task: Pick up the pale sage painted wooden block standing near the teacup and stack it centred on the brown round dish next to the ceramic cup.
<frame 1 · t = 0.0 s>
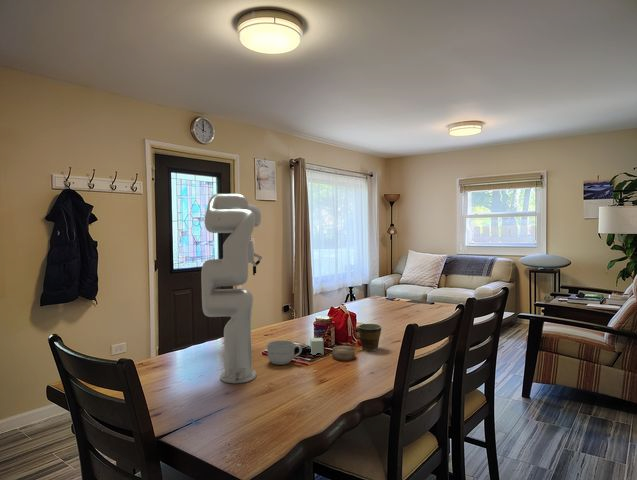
hand: (243, 275, 194), 31 cm above the table, fingers open, 9 cm apart
teacup: (284, 363, 165), on the table
sage block: (317, 353, 177), on the table
ceramic cup: (366, 349, 182), on the table
brown round dish: (343, 357, 171), on the table
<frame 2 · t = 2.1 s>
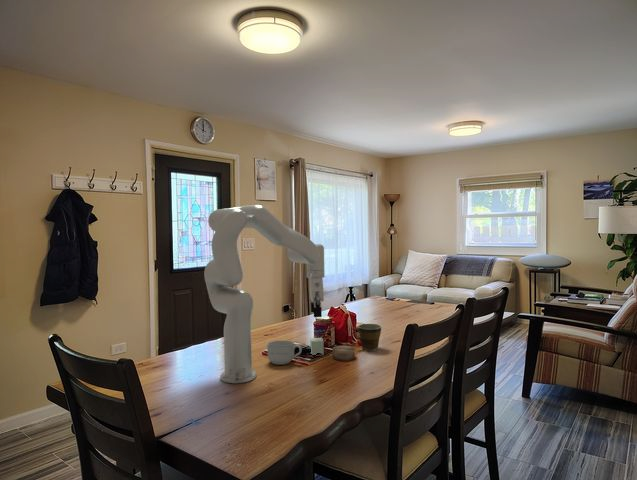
hand: (316, 314, 176), 16 cm above the table, fingers open, 9 cm apart
nothing on the table moved.
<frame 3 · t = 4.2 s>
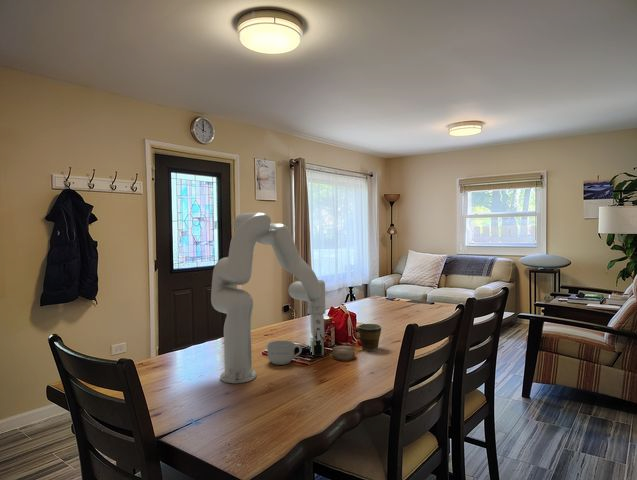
hand: (317, 352, 177), 0 cm above the table, fingers closed on sage block, 5 cm apart
sage block: (317, 353, 177), on the table, touching gripper
everything else where it was.
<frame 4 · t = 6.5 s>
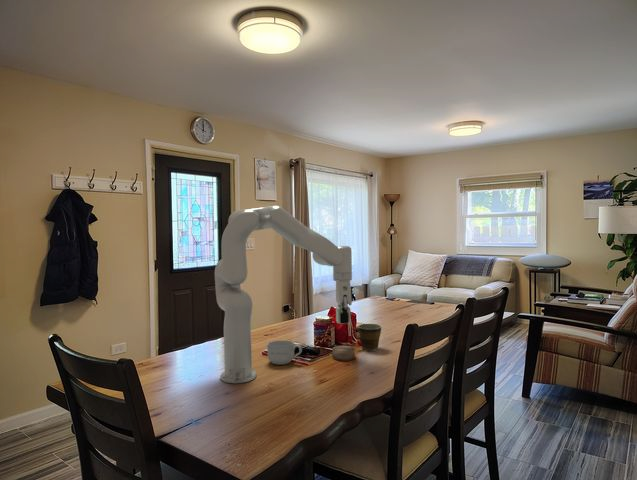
hand: (343, 320, 171), 15 cm above the table, fingers closed on sage block, 5 cm apart
sage block: (343, 322, 171), point 14 cm above the table, touching gripper
everything else where it was.
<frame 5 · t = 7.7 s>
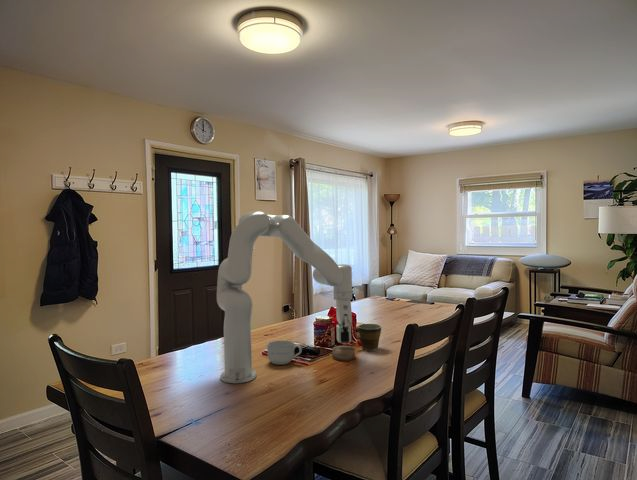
hand: (343, 339, 171), 7 cm above the table, fingers closed on sage block, 5 cm apart
sage block: (343, 340, 171), point 7 cm above the table, touching gripper
everything else where it was.
when the fingers open (5 cm above the table, at t = 8.6 s): sage block stays where it is, resting on brown round dish.
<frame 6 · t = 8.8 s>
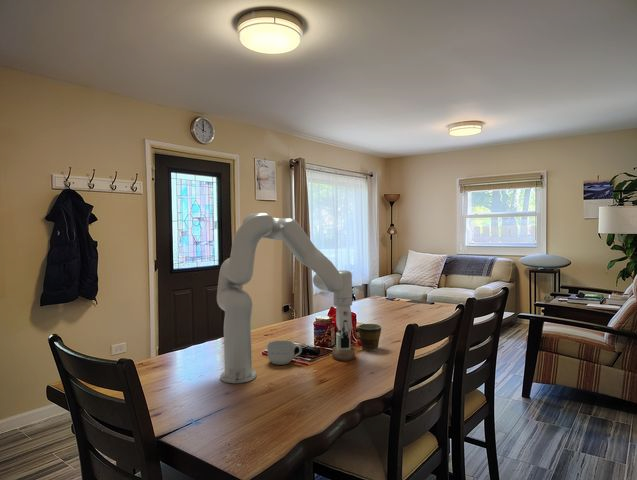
hand: (343, 344, 171), 5 cm above the table, fingers open, 6 cm apart
sage block: (343, 348, 171), point 4 cm above the table, touching brown round dish
everything else where it was.
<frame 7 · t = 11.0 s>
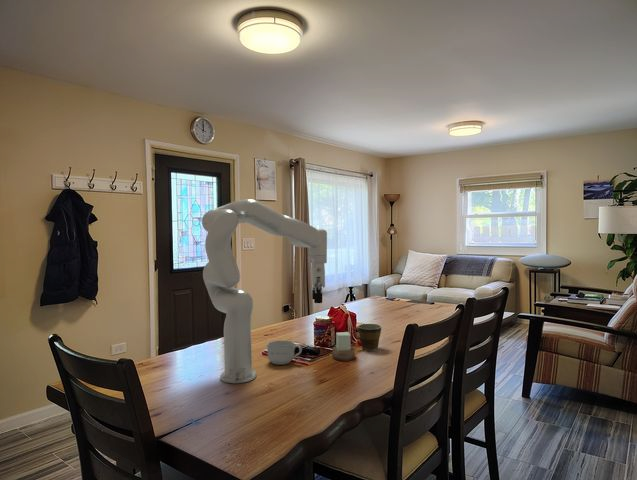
hand: (317, 301, 173), 23 cm above the table, fingers open, 9 cm apart
nothing on the table moved.
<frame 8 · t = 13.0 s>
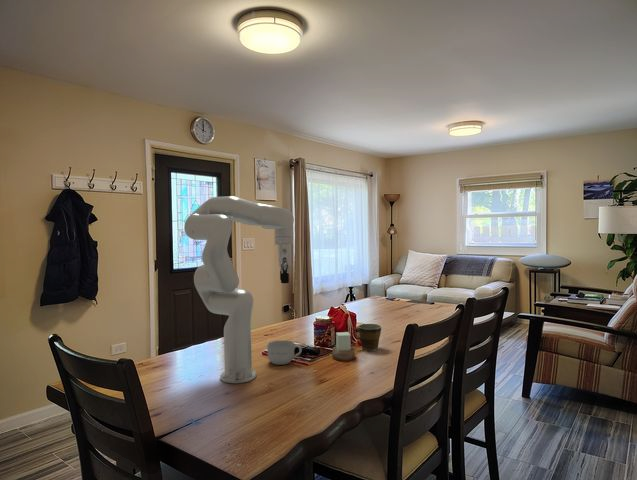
hand: (284, 281, 177), 30 cm above the table, fingers open, 9 cm apart
nothing on the table moved.
at the end: sage block 0.0 cm off-centre on the brown round dish, point 3.6 cm above the brown round dish's base; sage block tilted 0°; the gripper is holding nothing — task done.
